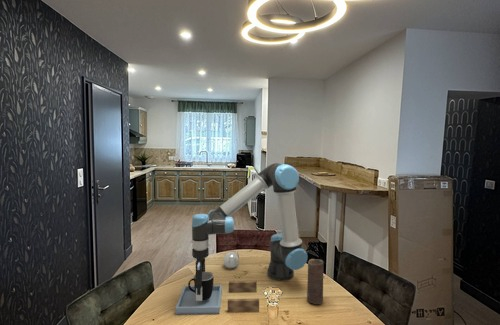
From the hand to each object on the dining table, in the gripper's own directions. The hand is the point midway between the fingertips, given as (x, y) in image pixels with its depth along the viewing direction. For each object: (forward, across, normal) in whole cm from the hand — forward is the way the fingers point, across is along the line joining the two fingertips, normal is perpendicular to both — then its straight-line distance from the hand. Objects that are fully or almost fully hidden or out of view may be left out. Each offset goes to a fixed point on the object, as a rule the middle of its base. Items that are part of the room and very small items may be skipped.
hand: (200, 294), depth 128 cm
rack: (+4, 0, +20) cm, 20 cm away
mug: (+1, 0, 0) cm, 1 cm away
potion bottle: (+4, -39, +14) cm, 41 cm away
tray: (+4, 0, 0) cm, 4 cm away
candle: (+4, +2, +54) cm, 54 cm away
